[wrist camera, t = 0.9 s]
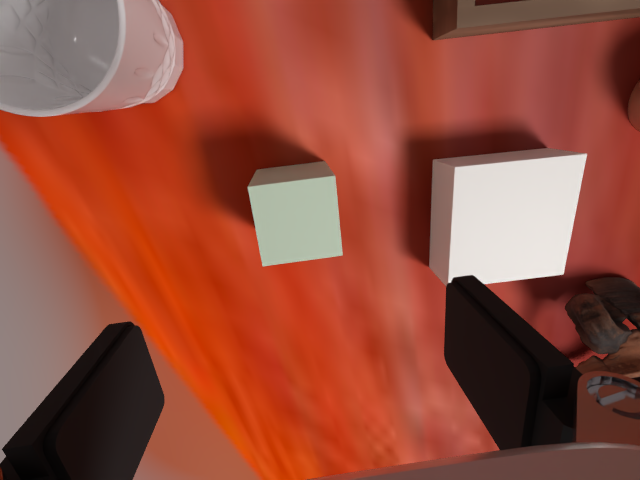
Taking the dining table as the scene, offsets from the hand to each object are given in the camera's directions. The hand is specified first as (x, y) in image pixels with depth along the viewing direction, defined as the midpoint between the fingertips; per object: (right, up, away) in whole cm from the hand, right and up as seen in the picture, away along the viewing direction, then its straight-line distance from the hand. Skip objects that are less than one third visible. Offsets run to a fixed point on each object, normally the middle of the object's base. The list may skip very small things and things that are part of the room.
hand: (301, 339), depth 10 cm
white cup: (-11, +15, +11) cm, 22 cm away
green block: (-1, +6, +15) cm, 17 cm away
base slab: (+14, +6, +17) cm, 23 cm away
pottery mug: (+25, -4, +22) cm, 34 cm away
